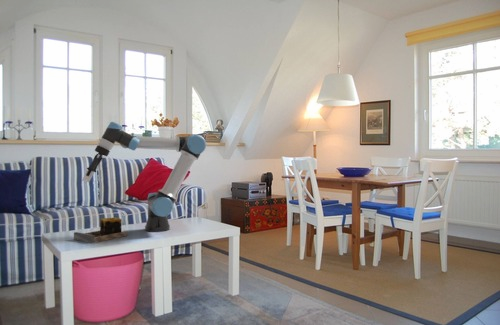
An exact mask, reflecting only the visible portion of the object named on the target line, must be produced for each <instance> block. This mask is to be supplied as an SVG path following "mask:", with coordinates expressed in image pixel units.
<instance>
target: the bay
mask: <svg viewBox="0 0 500 325" xmlns="http://www.w3.org/2000/svg"><path fill="white" fill-rule="evenodd" d="M98 235H99V236H98ZM127 236H128V231H125V230H124V231H122V232H119V233H114V234H109V235H104V236H100V230H94V231H90V232H85V233H84V232H78V231H74V232H73V241H77V242H78V241H79V242H83V243H89V244H95V243H100V242H104V241H110V240H113V239H118V238H119V239H120V238H124V237H127Z"/></svg>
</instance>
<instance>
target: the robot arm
mask: <svg viewBox="0 0 500 325" xmlns="http://www.w3.org/2000/svg"><path fill="white" fill-rule="evenodd" d="M123 128H124V127H123V125H121V124H119V123H117V122H116V121H110V122H109V124H108V126H107V127H106V129H105V131H104V133H103V135H102V136H101V138H99V141H98V144H97V146H96V147H95V149H94V152H96V154H95V155H94V158H93V159H92V161H91V163H90V165H89V166H88V167H87V168H86V171H85V174H84V175H83V177H82V179H81V181H82V182H84V183H90V181H91V180H92V177H94V174H95V173H96V172H97V168H98V167H99V165H100V164H101V162H102V161H103V156H104V157H108V156H109V155H110V151H111V150H112V149H113V147H114V145H115V143H118V144H119V145H120V146H121V147H122V148H123V149H129V150H132V151H136V150H137V149H144V150H145V149H146V150H148V149H149V150H169V151H170V150H171V151H175V152H178V153H179V152H180V155H179V158H178V159H177V162H176V164H175V165H174V167H173V169H172V170H171V173H170V174H169V176H168V178H167V180H166V182H165V183H164V185H163V187H162V188H161V189H158V191H157V192H150V193H148V196H147V220H146V224H145V226H144V230H145V231H146V232H164V231H165V232H166V231H169V230H171V227H170V226H171V225H170V223H169V220H168V215H170V214H171V213H172V211H173V209H174V204H175V202H176V200H177V198H176V195H177V193H178V192H179V189H180V187H181V185H182V184H183V182H184V180H185V178H186V177H187V174H188V172H189V171H190V169H191V167H192V165H193V164H194V162H195V161H196V160H198V159H199V157H200V156H201V154H203V153H204V151H205V150H206V148H207V142H206V139H205V138H204V136H202V135H200V134H196V133H194V134H190V135H187V136H177V137H162V136H161V137H159V136H144V135H143V136H140V135H133V134H130V133H128V132H126V131H124V130H123Z"/></svg>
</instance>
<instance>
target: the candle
mask: <svg viewBox="0 0 500 325" xmlns="http://www.w3.org/2000/svg"><path fill="white" fill-rule="evenodd" d="M99 220H100V227H99V228H100V229H99V231H100V235H99V236H104V235H109V234H114V233H119V232H123V231H122V230H123V229H122V220H123V219H122V218H120V217H117V216H116V217H104V218H103V217H102V218H99Z"/></svg>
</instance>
